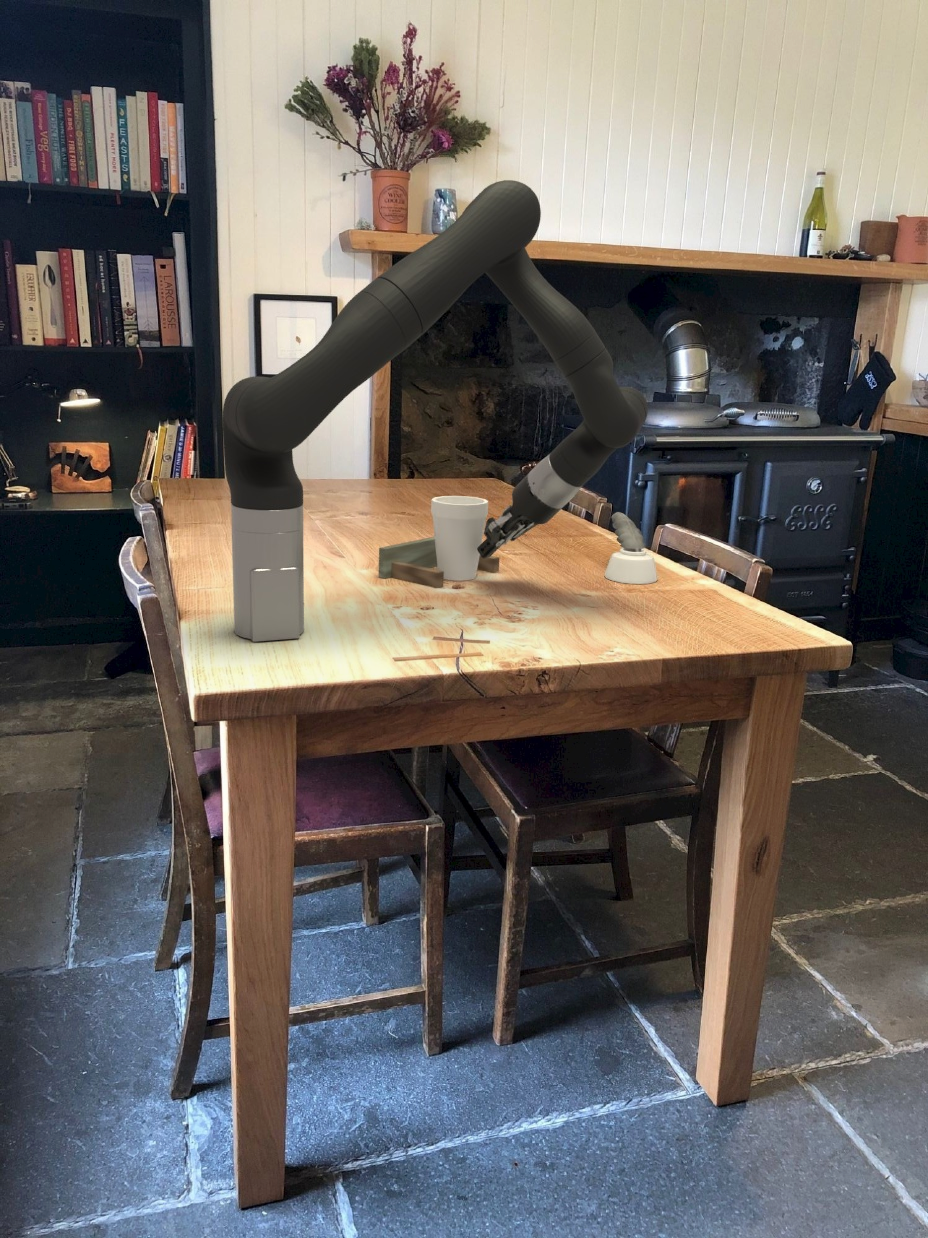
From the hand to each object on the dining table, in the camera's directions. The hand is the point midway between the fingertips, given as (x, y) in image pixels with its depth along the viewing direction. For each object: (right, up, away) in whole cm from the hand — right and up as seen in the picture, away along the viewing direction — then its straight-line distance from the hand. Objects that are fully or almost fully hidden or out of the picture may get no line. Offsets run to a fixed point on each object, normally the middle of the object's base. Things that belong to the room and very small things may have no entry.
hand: (482, 553), depth 162 cm
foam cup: (-4, -4, +4) cm, 7 cm away
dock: (-7, -3, +6) cm, 9 cm away
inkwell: (+25, -3, +12) cm, 28 cm away
